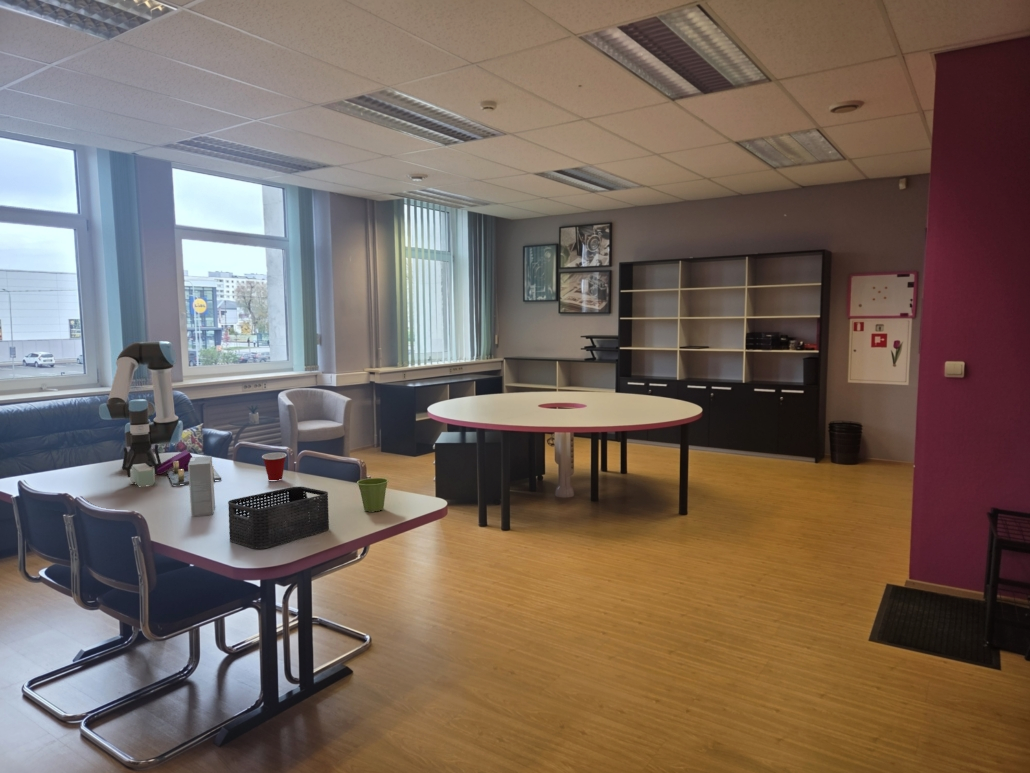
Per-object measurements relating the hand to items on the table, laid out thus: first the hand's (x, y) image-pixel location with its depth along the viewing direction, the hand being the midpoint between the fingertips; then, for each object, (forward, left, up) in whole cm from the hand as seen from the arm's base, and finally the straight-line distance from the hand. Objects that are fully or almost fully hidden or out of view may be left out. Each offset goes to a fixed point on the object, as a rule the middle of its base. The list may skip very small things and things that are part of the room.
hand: (143, 482), depth 304 cm
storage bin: (+116, +35, -1) cm, 121 cm away
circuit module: (0, 0, 0) cm, 1 cm away
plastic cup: (+29, +52, 0) cm, 59 cm away
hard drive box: (+68, +17, 0) cm, 70 cm away
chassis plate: (0, +21, 0) cm, 21 cm away
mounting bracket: (-20, +14, -1) cm, 25 cm away
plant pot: (+104, +72, 0) cm, 126 cm away
